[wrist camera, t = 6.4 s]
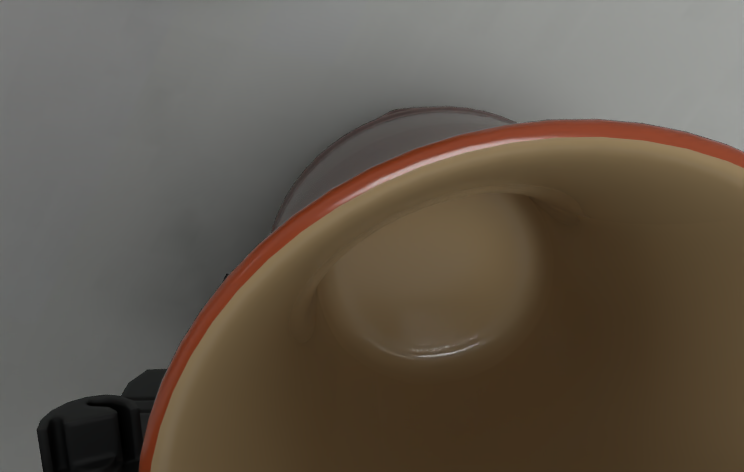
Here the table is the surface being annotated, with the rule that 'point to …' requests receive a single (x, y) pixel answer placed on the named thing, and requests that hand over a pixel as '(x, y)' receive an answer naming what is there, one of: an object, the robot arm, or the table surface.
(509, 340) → the mug
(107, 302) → the table surface
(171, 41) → the table surface
